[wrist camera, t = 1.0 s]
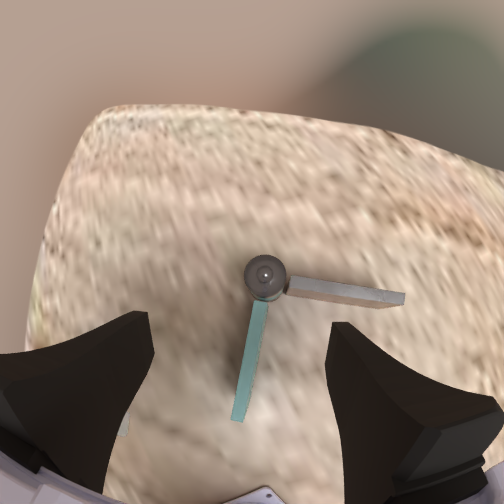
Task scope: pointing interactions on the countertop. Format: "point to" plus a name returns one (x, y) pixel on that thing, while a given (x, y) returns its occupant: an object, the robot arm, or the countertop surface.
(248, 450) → the countertop surface
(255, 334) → the teal swing leaf
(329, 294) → the fixed steel leaf
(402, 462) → the robot arm
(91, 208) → the countertop surface
